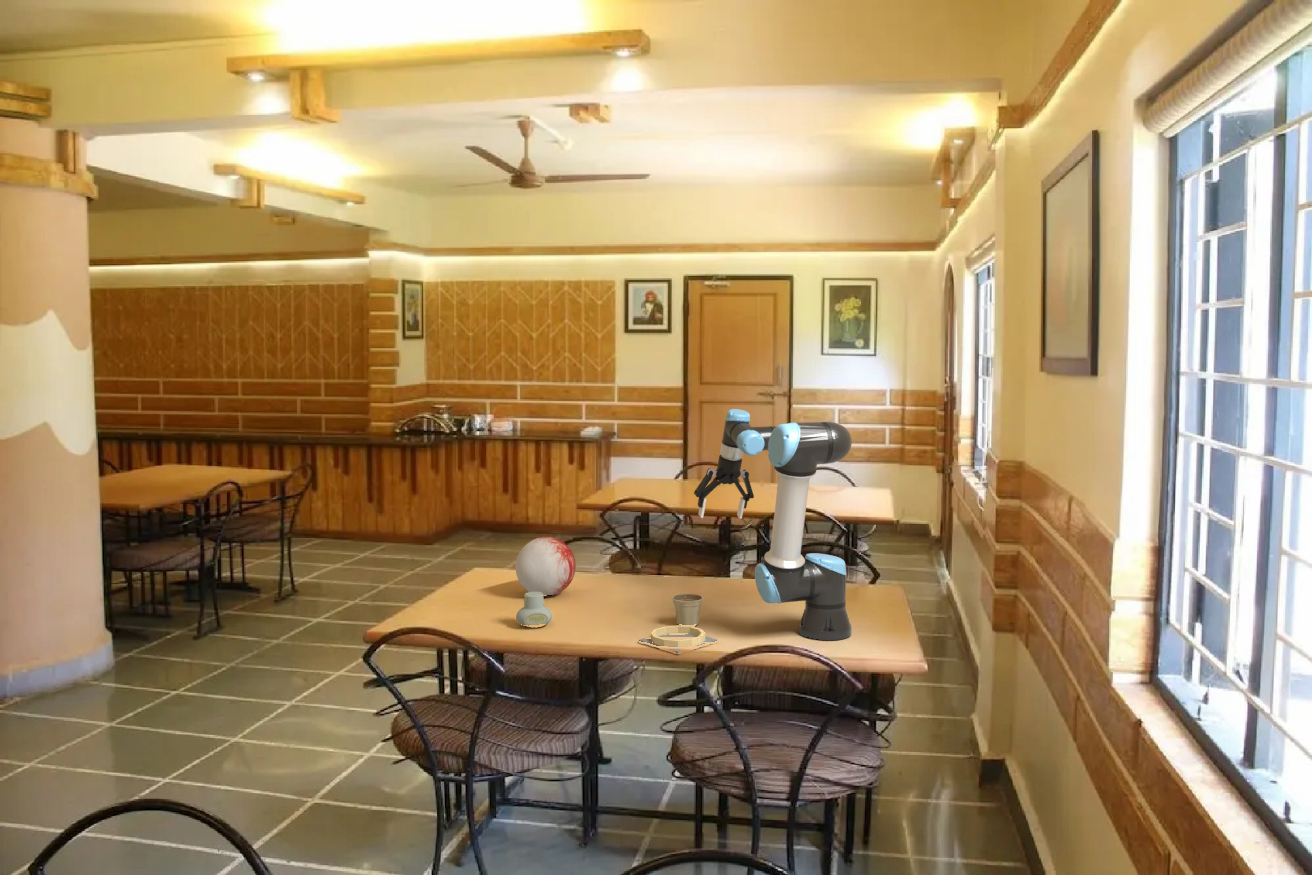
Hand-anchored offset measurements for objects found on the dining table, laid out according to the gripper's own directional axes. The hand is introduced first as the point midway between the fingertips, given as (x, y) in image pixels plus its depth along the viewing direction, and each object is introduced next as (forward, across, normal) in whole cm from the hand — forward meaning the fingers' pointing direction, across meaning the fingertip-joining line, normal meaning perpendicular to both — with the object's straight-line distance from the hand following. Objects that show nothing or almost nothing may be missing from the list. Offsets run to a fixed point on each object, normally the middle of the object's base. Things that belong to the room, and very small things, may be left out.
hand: (720, 516), depth 341 cm
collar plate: (+18, +26, +47) cm, 57 cm away
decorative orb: (+38, +51, -17) cm, 66 cm away
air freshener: (+30, +62, +18) cm, 71 cm away
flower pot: (+22, +18, +31) cm, 42 cm away
